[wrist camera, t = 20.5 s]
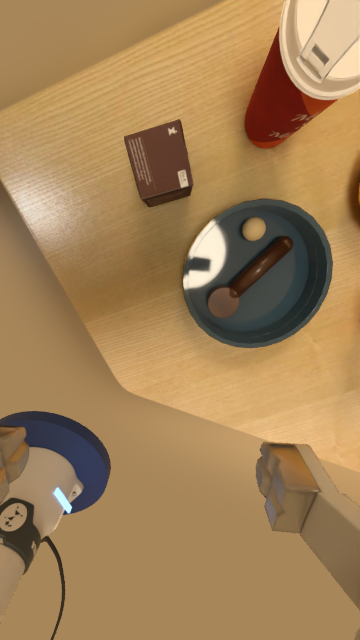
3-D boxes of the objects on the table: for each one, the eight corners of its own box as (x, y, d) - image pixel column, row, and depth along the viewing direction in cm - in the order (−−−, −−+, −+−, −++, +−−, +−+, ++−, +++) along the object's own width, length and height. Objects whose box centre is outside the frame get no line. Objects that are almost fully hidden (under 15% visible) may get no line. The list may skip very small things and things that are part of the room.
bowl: (258, 353, 39) (269, 369, 35) (159, 297, 36) (156, 306, 31) (339, 252, 34) (365, 254, 29) (230, 174, 30) (239, 163, 26)
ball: (243, 217, 32) (258, 208, 29) (258, 231, 33) (274, 223, 30) (234, 234, 31) (248, 226, 28) (249, 248, 32) (264, 241, 30)
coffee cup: (270, 173, 30) (348, 117, 16) (221, 130, 29) (261, 26, 15) (317, 108, 28) (456, -24, 14) (267, 57, 26) (366, -151, 12)
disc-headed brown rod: (276, 226, 32) (284, 225, 30) (296, 250, 33) (304, 251, 31) (200, 299, 36) (201, 304, 33) (220, 319, 37) (222, 324, 34)
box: (135, 158, 30) (122, 134, 23) (180, 145, 29) (180, 116, 22) (148, 208, 32) (139, 200, 25) (191, 197, 31) (194, 185, 24)
